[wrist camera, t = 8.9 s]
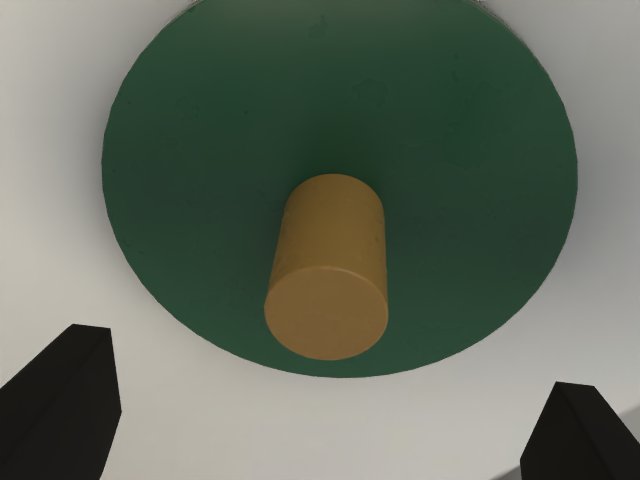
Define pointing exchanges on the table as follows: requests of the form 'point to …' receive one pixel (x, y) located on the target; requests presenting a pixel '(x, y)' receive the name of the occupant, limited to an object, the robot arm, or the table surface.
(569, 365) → the table surface
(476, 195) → the tin lid
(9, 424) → the robot arm
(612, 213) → the table surface
